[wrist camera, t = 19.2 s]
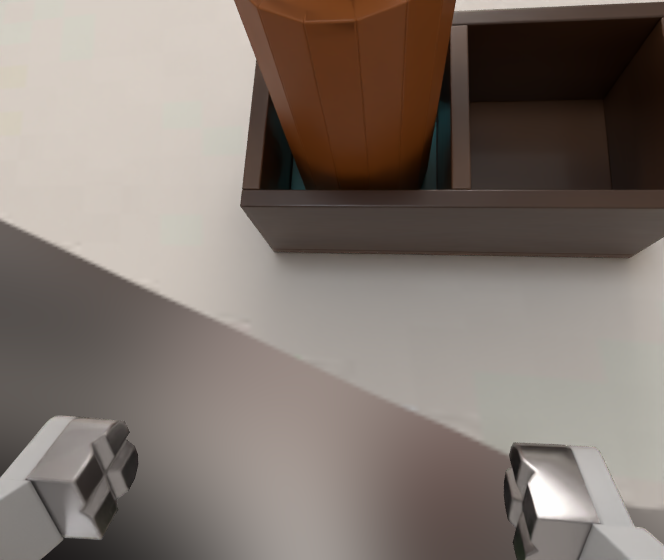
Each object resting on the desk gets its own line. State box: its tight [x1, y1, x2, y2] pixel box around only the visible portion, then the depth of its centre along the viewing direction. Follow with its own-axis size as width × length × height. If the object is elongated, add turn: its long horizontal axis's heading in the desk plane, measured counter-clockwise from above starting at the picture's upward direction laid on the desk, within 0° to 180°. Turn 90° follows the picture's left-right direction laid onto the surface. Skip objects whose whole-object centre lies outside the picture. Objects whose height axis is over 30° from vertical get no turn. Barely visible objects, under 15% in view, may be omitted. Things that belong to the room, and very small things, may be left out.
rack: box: [240, 2, 664, 258], centre depth 20 cm, size 8×16×6 cm, turn 87°
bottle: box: [234, 0, 456, 190], centre depth 15 cm, size 6×6×16 cm
